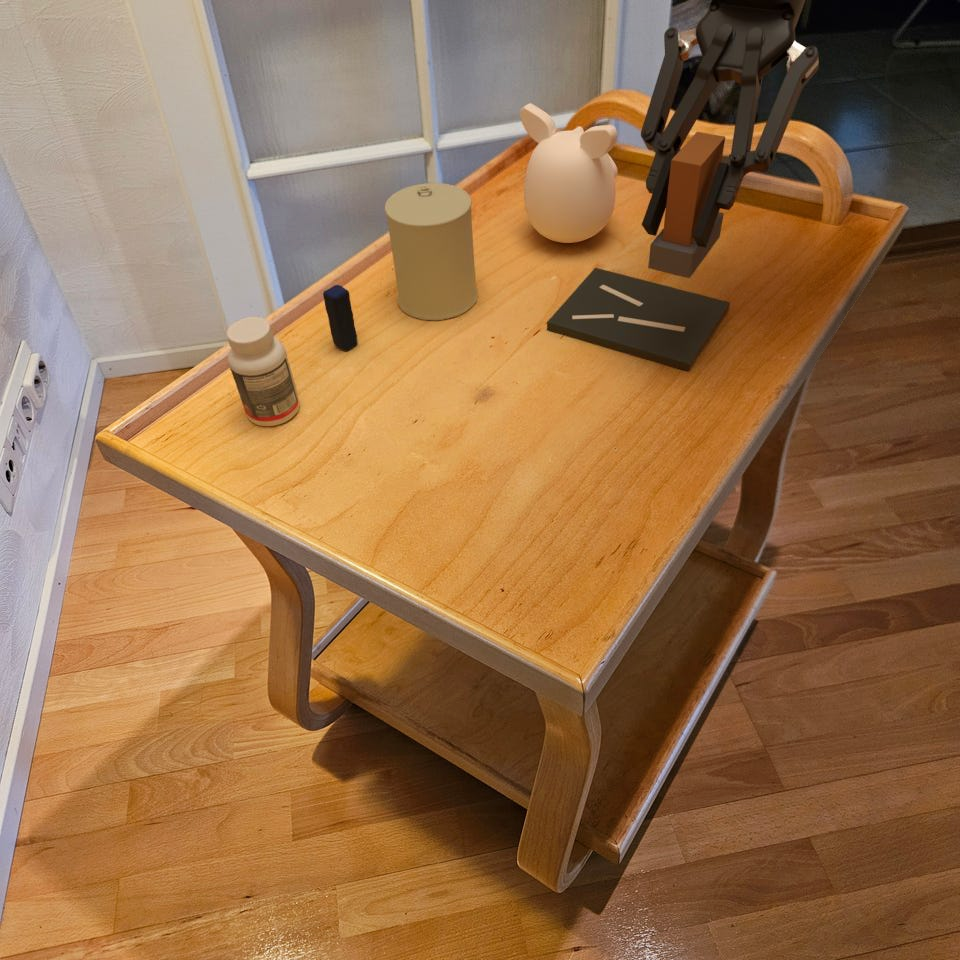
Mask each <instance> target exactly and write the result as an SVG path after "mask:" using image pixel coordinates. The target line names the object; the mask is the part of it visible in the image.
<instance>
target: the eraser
mask: <svg viewBox="0 0 960 960" xmlns="http://www.w3.org/2000/svg"><path fill="white" fill-rule="evenodd" d="M322 295H323V301H324V307H325V311H326V314H327V318H328V324H329V329H330V334H331V338H332V341H333V344H334V346H335V347H336V348H337V349H339V350H341V351H343V352H349V351H351V350H352V349H353V348H355V347H357V346H358V334H357V330H356V327H355V319H354V313H353V310H352V302H351V295H350V291H349V290H348V289H347V288H345V287H343V285H340V284H335V285H332V287H330V288H327V289H326V290H324V291H323V292H322Z"/></svg>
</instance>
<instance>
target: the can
mask: <svg viewBox="0 0 960 960" xmlns="http://www.w3.org/2000/svg"><path fill="white" fill-rule="evenodd" d="M472 203H473V202H472V198H471V196H470V193H468V192H467V191H466V190H464V189H463V188H462V187H459V186H457V185H452V184H448V183H443V182H441V183H440V182H427V183H419V184H414V185H410V186H407V187H404V188H402V189H399V190H398V191H396V192H395V193H393V194H391V195H390V196H389V197H388V198H387V200H386V202H385V203H384V213H385V216H386V222H387V229H388V235H389V241H390V247H391V253H392V260H393V261H392V262H393V268H394V274H395V282H396V289H397V297H396V300H397V304H398V307H399V308H400V310H401V311H403V312H404V313H405V314H407V315H408V316H410V317H412V318H414V319H418V320H423V321H442V320H449V319H453V318H456V317H458V316H461V315H463V314H464V313H466V312H468V311H469V310H470V309H471V308H473V307H474V305H475V304H476V302H477V300H478V298H479V290H478V287H477V280H476V268H475V253H474V252H475V251H474V238H473V235H474V234H473V215H472Z"/></svg>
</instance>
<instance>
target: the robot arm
mask: <svg viewBox="0 0 960 960" xmlns="http://www.w3.org/2000/svg"><path fill="white" fill-rule="evenodd" d="M805 2H806V0H710V3H709V6H708V9H707V11H706V13H705V14H704V15H703V17H701V19H700V20H699V21H698V23H697V25H696V26H695V27H693V28H690V29H686V30H682V31H678V29H677V28H676V27H673V26H672V27H669V28H667V29H666V30H665V32H664V34H663V41H664V56H663V60H662V62H661V66H660V69H659V71H658V75H657V78H656V82H655V85H654V89H653V91H652V95H651V98H650V101H649V105H648V108H647V110H646V111H647V112H646V113H645V118H644V121H643V124H642V127H641V131H640V137H641V139H642V141H643V143H644V145H645V147H646V149H647V150H648V151H652V152H653V153H654V157H653V160H652V163H651V167H650V168H649V171H648V174H647V178H646V179H645V188H646V190H647V192H648V193H649V194H651V196H650V200H649V202H648V205H647V208H646V210H645V214H644V216H643V220H642V222H641V227H642V228H643V229H644V231H645V232H646V234H647V235H650V236H653V237H657V235H658V234H657V233H658V232H659V228H660V225H661V222H662V220H663V217H664V215H665V212H666V204H667V195H668V186H669V177H670V169H671V160H672V159H673V158H674V157H675V155H676V154H677V153H678V152H679V151H680V150H681V149H682V146H683V145H684V143H685V141H686V139H687V138H688V136H689V134H690V132H691V131H692V129H693V127H694V125H695V124H696V122H697V120H698V118H699V116H700V115H701V113H702V111H703V109H704V108H705V106H706V104H707V103H708V101H709V99H710V97H711V96H712V94H713V93H715V92H716V91H717V89H718V87H719V85H720V84H721V82H730V81H731V82H732V81H733V82H735V83H738V84H740V90H739V97H738V103H737V109H736V110H737V111H736V117H735V124H734V129H733V136H732V143H731V151H730V153H729V154H728V157H729V160H730V161H729V163H727V162H723V161H722V162H719V165H718V167H717V170H716V173H715V176H714V179H713V181H712V184H711V187H710V190H709V193H708V195H707V198H706V201H705V204H704V207H703V209H702V212H701V215H700V218H699V220H698V223H697V226H696V229H695V232H694V234H693V238H694V240H695V242H696V243H697V245H698V246H701V247H705V248H706V246H707V243H708V241H709V238H710V235H711V232H712V229H713V227H714V224H715V221H716V218H717V216H718V213H719V212H720V210H725V211H730V210H731V209H732V208H733V206H734V204H735V202H736V199H737V198H738V197H737V196H738V194H739V192H740V188H741V185H742V182H743V180H744V178H745V176H746V175H748V174H750V173H751V172H760V173H765V172H767V171H769V170H770V169H771V167H772V164H773V162H774V160H775V157H776V155H777V152H778V150H779V147H780V145H781V142H782V140H783V137H784V135H785V132H786V131H787V129H788V125H789V123H790V120H791V117H792V116H793V113H794V110H795V108H796V106H797V103H798V101H799V98H800V95H801V93H802V91H803V89H804V87H805V86H806V85H807V84H808V82H809V81H810V80H811V79H812V78H813V77H814V76H815V74H816V73H817V72H818V70H819V67H820V62H819V61H820V60H819V50H818V47H817V46H815V45H809V46H807V47H806V46H804V45H802V44H801V43H800V42H798V41H797V40H796V31H795V30H796V27H797V24H798V21H799V19H800V16H801V14H802V10H803V7H804V5H805ZM697 45H698V47H699V50H700V54H701V56H702V58H701V60H700V63H699V64H698V66H697V68H696V71H695V75H694V78H693V79H692V80H691V83H690V84H689V86H688V88H687V90H686V91H685V93H684V95H683V96H682V99H681V100H680V102H679V104H678V106H677V107H676V109H675V111H674V113H673V114H672V116H671V118H670V120H669V121H668V119H669V115H670V112H671V109H672V106H673V103H674V100H675V96H676V93H677V89H678V87H679V83H680V80H681V77H682V74H683V70H684V61H687V60H688V59H689V57H690V56H691V53H692V50H693V48H694V47H696V46H697ZM786 58H788V59H787V60H786V71H787V72H786V73H785V76H784V78H783V81H782V83H781V86H780V88H779V90H778V93H777V96H776V98H775V101H774V102H773V105H772V108H771V110H770V113H769V115H768V118H767V120H766V123H765V125H764V128H763V130H762V133H761V135H760V137H759V140H758V142H757V144H756V147H755V150H752V144H753V137H754V129H755V124H756V117H757V111H758V104H759V98H760V96H761V90H762V84H763V77H765V76H767V74H768V73H770V71H772V70H773V69H774V68H775V67H777V66H778V65H779V64H781V63H782V62H783V61H784V60H785V59H786ZM667 122H668V123H667Z"/></svg>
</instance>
